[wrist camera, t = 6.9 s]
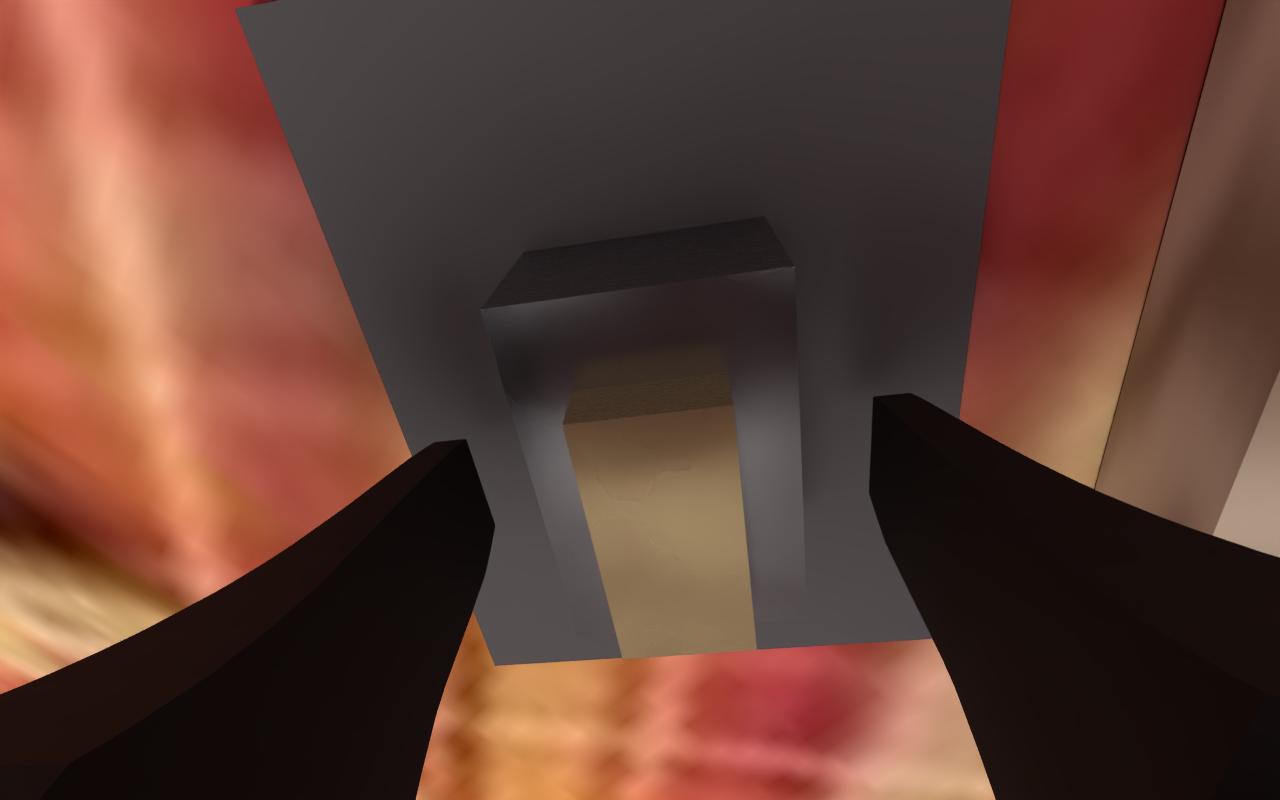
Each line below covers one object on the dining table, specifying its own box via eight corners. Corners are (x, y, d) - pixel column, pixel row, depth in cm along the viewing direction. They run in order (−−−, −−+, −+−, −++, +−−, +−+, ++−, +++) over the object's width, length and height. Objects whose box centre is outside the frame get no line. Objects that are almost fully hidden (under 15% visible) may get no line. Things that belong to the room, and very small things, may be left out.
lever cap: (781, 516, 14) (818, 664, 11) (594, 533, 15) (571, 680, 11) (764, 216, 11) (808, 289, 7) (523, 252, 11) (458, 337, 8)
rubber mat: (924, 623, 16) (931, 638, 16) (499, 650, 18) (495, 665, 17) (1011, -134, 9) (1029, -144, 8) (253, 10, 10) (234, 9, 10)
